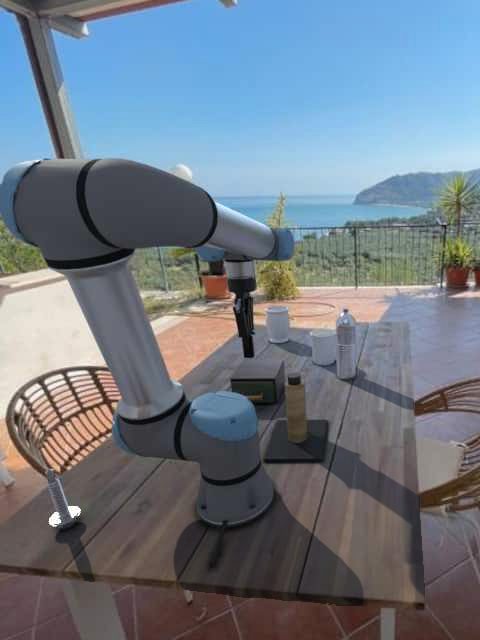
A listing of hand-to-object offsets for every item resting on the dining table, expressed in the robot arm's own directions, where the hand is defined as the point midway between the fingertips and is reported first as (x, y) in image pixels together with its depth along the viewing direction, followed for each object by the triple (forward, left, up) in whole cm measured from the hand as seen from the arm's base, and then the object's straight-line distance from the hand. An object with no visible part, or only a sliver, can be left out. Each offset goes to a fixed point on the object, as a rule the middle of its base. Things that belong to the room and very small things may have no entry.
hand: (249, 357), depth 114 cm
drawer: (+5, 0, -15) cm, 16 cm away
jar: (+60, +3, -16) cm, 62 cm away
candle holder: (+35, -19, -16) cm, 43 cm away
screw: (-47, +25, -16) cm, 56 cm away
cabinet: (+9, 0, -16) cm, 18 cm away
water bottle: (+21, -28, -16) cm, 38 cm away
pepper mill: (-19, -16, -15) cm, 29 cm away
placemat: (-19, -16, -16) cm, 30 cm away
